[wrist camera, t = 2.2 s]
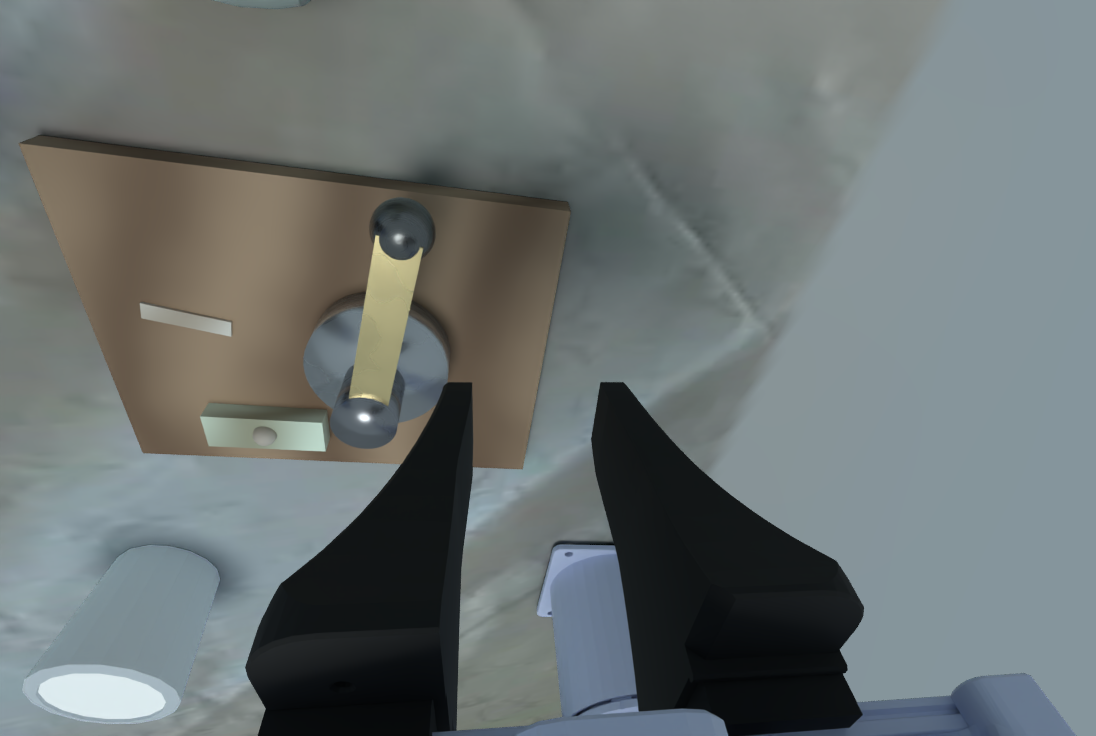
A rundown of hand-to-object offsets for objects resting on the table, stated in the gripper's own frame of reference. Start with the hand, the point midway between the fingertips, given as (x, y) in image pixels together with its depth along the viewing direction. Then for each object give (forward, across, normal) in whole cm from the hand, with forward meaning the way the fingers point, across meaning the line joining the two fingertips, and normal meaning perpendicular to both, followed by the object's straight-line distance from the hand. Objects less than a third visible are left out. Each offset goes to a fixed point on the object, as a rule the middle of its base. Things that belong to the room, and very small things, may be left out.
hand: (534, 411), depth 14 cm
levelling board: (+10, +8, +4) cm, 13 cm away
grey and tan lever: (+9, +5, +2) cm, 10 cm away
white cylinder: (+10, +20, +22) cm, 31 cm away
